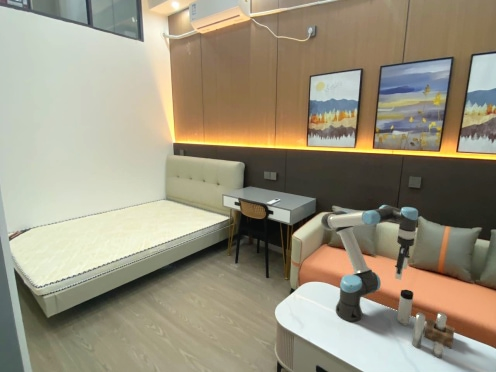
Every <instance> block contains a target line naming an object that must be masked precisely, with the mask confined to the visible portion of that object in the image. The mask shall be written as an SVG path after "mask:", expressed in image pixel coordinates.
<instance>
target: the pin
mask: <svg viewBox="0 0 496 372" xmlns="http://www.w3.org/2000/svg"><path fill="white" fill-rule="evenodd" d="M447 319H448V316H447V314H446V313H444V312H440V311H439V312H437V316H436V320H435V321H436V326H435V329H437V330H439V331H442V332H444V330H445V325H447V324H446V323H447Z"/></svg>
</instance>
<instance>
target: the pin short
mask: <svg viewBox="0 0 496 372" xmlns="http://www.w3.org/2000/svg"><path fill="white" fill-rule="evenodd" d="M444 347H445V346H444V345H443V344H442V343H440V342H437V341H435V342H434V341H433V346H432V351H431V354H432V356H434V358H437V359H441V358H442V357H443V353H444Z"/></svg>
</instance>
